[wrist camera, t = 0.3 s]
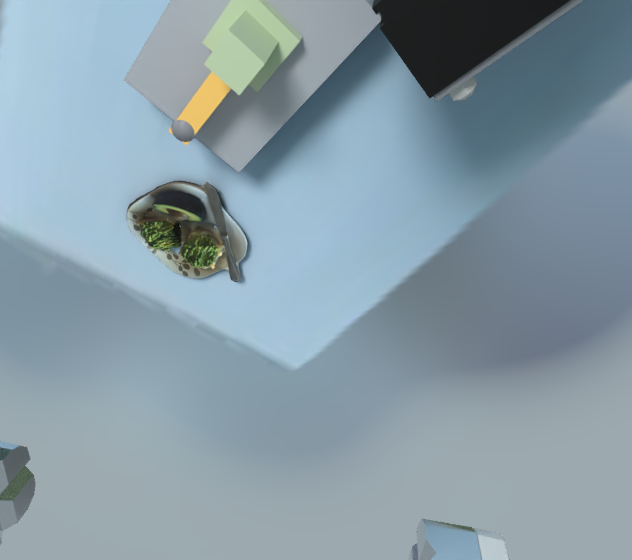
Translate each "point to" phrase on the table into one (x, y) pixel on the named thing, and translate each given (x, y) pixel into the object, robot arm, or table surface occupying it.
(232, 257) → the salad plate
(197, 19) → the grey flat block
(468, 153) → the table surface
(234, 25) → the plug
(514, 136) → the table surface
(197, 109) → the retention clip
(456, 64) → the electrical component
